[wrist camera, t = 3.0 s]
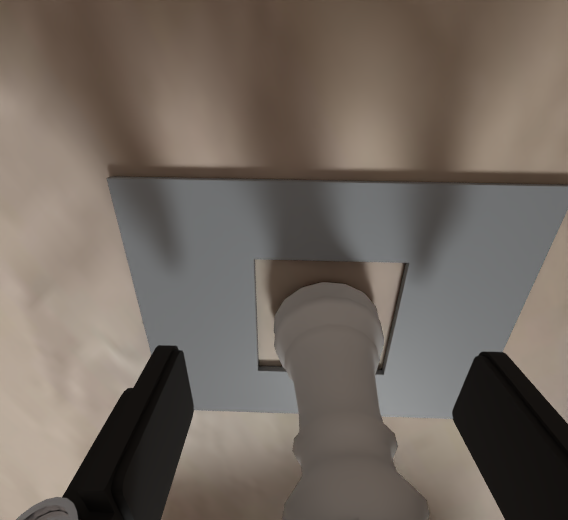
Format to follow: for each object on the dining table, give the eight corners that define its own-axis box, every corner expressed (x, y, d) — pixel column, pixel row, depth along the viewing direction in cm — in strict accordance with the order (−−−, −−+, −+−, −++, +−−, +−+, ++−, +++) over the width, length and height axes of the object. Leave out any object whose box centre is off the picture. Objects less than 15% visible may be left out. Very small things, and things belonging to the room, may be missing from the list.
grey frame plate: (570, 184, 10) (577, 186, 10) (468, 414, 16) (471, 419, 15) (111, 176, 11) (106, 178, 10) (167, 403, 16) (165, 409, 16)
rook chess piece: (254, 302, 13) (204, 551, 6) (351, 257, 12) (444, 495, 4) (303, 369, 14) (313, 626, 7) (391, 336, 13) (506, 598, 6)
